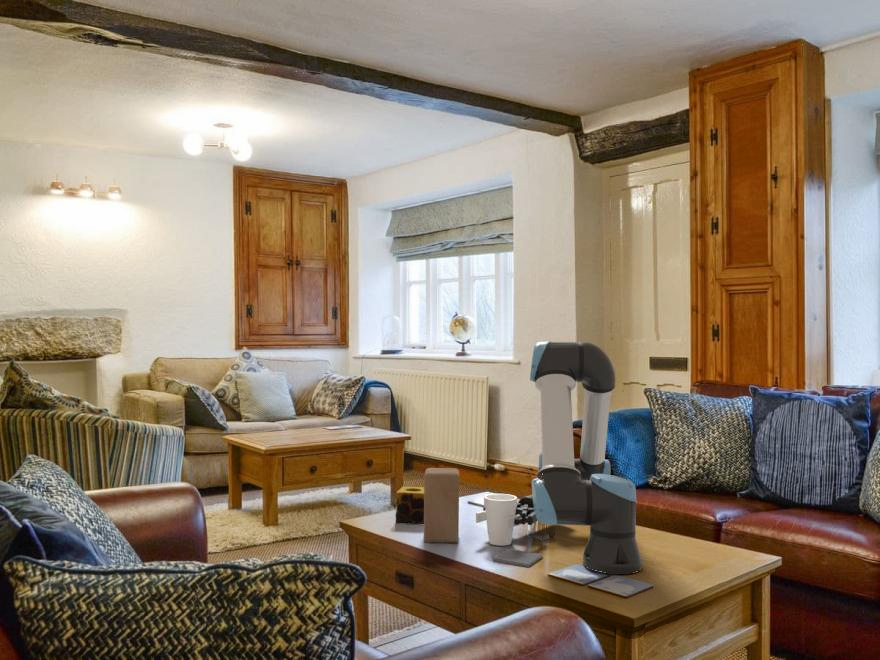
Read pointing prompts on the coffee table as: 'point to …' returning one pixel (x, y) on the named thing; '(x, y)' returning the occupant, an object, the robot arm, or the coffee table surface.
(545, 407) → the robot arm
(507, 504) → the foam cup
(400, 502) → the giraffe print tissue box
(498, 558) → the slate coaster
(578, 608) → the coffee table surface
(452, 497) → the block
